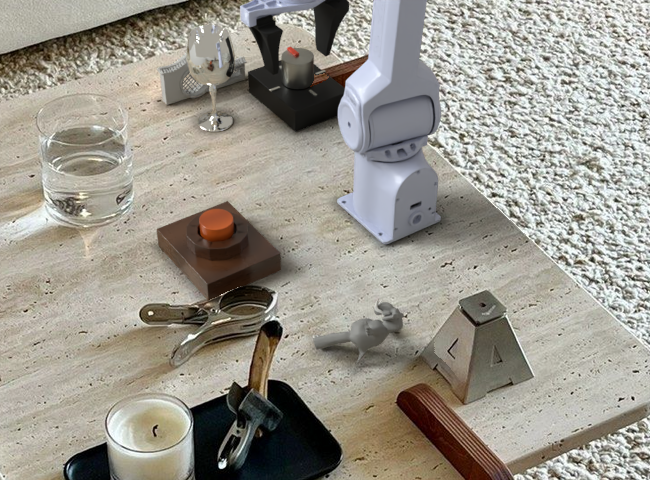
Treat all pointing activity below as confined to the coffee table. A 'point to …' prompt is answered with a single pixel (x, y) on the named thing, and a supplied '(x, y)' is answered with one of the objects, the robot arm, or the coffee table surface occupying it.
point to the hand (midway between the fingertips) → (297, 61)
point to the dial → (297, 68)
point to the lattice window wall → (178, 71)
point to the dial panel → (296, 98)
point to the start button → (216, 225)
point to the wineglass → (211, 68)
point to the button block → (219, 254)
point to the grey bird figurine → (366, 330)
